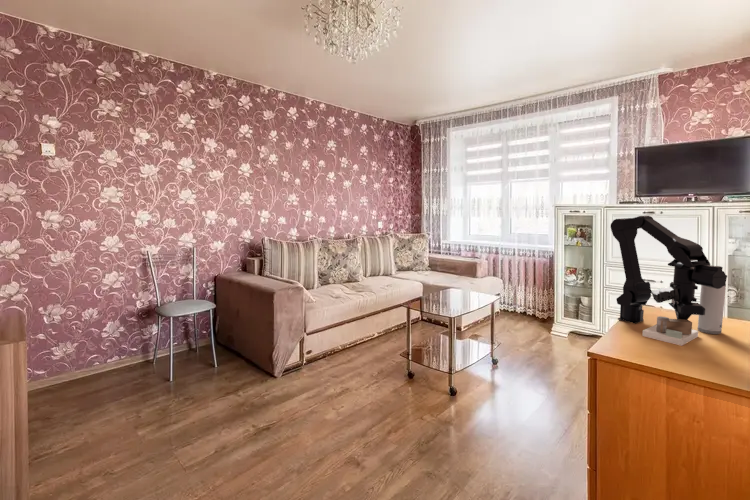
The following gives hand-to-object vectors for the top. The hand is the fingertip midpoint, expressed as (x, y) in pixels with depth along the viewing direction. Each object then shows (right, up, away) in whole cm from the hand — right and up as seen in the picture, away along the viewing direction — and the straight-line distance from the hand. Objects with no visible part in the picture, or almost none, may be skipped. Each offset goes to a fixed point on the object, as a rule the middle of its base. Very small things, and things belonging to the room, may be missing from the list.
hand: (680, 326), depth 129 cm
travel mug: (+13, -3, +4) cm, 14 cm away
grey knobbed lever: (-4, -1, -2) cm, 5 cm away
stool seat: (-3, -4, 0) cm, 5 cm away
